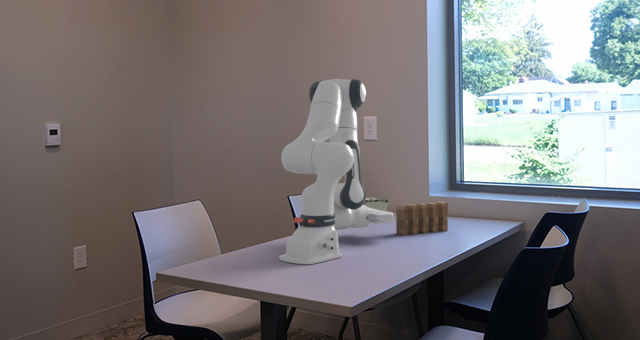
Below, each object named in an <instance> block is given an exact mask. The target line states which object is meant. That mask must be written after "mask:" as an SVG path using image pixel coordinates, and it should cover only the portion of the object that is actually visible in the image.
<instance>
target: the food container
mask: <svg viewBox="0 0 640 340" xmlns="http://www.w3.org/2000/svg"><path fill="white" fill-rule="evenodd" d="M364 204H365V205H366V206H367V207H369V208H373V209H377V210H381V211H388V209H389V204H390V199H389V197H388V198H387V197H366V199H365V202H364Z"/></svg>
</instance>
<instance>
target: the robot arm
mask: <svg viewBox="0 0 640 340" xmlns="http://www.w3.org/2000/svg"><path fill="white" fill-rule="evenodd" d="M308 91H309V93H308V96H309V101H310V108H309V114H308V118H307V121H306V125H305V126H304V129H303V130H302V131H301V133H300V134H299V136H298V137H296V138H295V139H294V140H293V141H292V142H290V143H288V144H287V145H285V146H284V148H283V150H282V152H281V158H280V159H281V164H282V166H283V167H284V169H285V170H286V171H287V172H290V173H294V174H299V175H302V174H303V175H316V180H315V182H314V183H312V184H310V185H308V186H307V187H305V188H304V189H303V191H302V192H301V193H302V194H301V214H300V217H299V216H295V217H294V219H293V221H294V223H295V224H298V227H297V228H296V230H295V231H293V233H292V235H290V237H289V238H288V240H287V241H286V243H285V244H286V245H285V253H283V254H281V255H279V256H278V260H279V261H281V262H284V263H285V262H286V263H291V264H296V265H297V264H298V265H314V264H318V263H322V262H326V261H330V260H335V259H339V258H342V257H343V256H342V253H341V252H340V246H339V236H338V232H337V230H338V231H339V230H347V229H349V228H351V229H359V228H367V227H368V226H369V225H370V224H371V223H375V224H390V223H394V221H395V218H394V217H395V214H394V212H393V211H381V210H377V209H373V208H369V207H367V206H366V204H365V203H364V202H365V199H366V198H367V192H366V189H365V186H364V183H363V177H362V176H363V175H362V161H361V150H360V145H359V142H358V117H357V111H358V110H359V108H361V107H362V106H363V104H364V103H365V101H366V96H367V91H366V87H365V83H363V81H362V80H361V79H355V78H353V79H352V78H351V79H343V78H342V79H336V78H334V79H326V80H318V81H315V82H313V83H312V84H311V85H310V87H309V90H308ZM327 140H329V141H327ZM326 141H327V142H326ZM342 177H344V178H345V179H344V182H343V183H342V182H341V183H339V182H340V180H341V179H342Z"/></svg>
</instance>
